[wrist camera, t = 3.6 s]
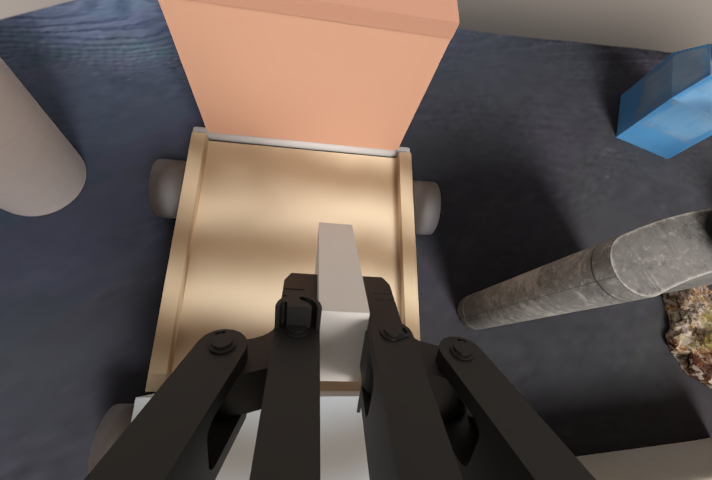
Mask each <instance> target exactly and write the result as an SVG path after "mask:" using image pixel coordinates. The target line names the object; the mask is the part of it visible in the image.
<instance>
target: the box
mask: <svg viewBox="0 0 712 480" xmlns="http://www.w3.org/2000/svg"><path fill="white" fill-rule="evenodd" d="M576 458H577V459H578V460H579V461H580V462H581V463H582V464H583V465H584V467H585V468H586V469H587V470H588V471H589V472H590V473H591V475H592V476H593V477H594V478H595V479H596V480H712V438H706V439H699V440H694V441H688V442H680V443H673V444H665V445H658V446H651V447H643V448H636V449H629V450H622V451H614V452H607V453H599V454H591V455H585V456H577V457H576Z"/></svg>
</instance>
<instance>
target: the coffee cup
mask: <svg viewBox="0 0 712 480" xmlns="http://www.w3.org/2000/svg"><path fill="white" fill-rule="evenodd" d="M85 181H86V166H85V163H84V161H83V159H82V157H81V156H80V155H79V154H78V152H77V151H76V150H75V149H74V147H73V146H72V145H71V144H70V142H69V141H68V140H67V139H66V137H65V136H64V135H63V134H62V133H61V131H60V130H59V129H58V128H57V126H56V125H55V124H54V123H53V121H52V120H51V119H50V118H49V117H48V115H47V114H46V113H45V112H44V110H43V109H42V108H41V107H40V105H39V104H38V103H37V102H36V100H35V99H34V98H33V97H32V96H31V94H30V93H29V92H28V91H27V89H26V88H25V87H24V86H23V84H22V83H21V82H20V81H19V79H18V78H17V77H16V76H15V74H14V73H13V72H12V71H11V69H10V68H9V67H8V66H7V65H6V63H5V62H4V61H3V60H2V58H1V57H0V209H3V210H5V211H8V212H10V213H13V214H16V215H21V216H41V215H46V214H50V213H53V212H55V211H58V210H60V209H62V208H63V207H65V206H67V205H68V204H69V203H71V202H72V201H73V200H74V199H75V198H76V197H77V196H78V195H79V193H80V192H81V190H82V188H83V186H84V184H85Z"/></svg>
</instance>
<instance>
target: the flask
mask: <svg viewBox="0 0 712 480" xmlns="http://www.w3.org/2000/svg"><path fill="white" fill-rule="evenodd" d="M710 284H712V208H711V209H704V210H699V211H694V212H689V213H684V214H681V215H677V216H673V217H669V218H666V219H662V220H659V221H656V222H653V223H650V224H647V225H645V226H642V227H639V228H637V229H634V230H632V231H629V232H627V233H624V234H622V235H619V236H617V237H614V238H612V239H609V240H607V241H604V242H602V243H599V244H596V245H594V246H591V247H589V248H586V249H584V250H581V251H579V252H576V253H574V254H571V255H569V256H566V257H564V258H561V259H559V260H556V261H554V262H551V263H549V264H546V265H544V266H541V267H539V268H536V269H533V270H531V271H528V272H526V273H523V274H521V275H518V276H516V277H513V278H511V279H508V280H506V281H503V282H501V283H498V284H496V285H493V286H491V287H488V288H486V289H483V290H481V291H478V292H475V293H473V294H471V295H468V296H466V297H464V298H463V299H462V300H461V301H460V302H459V304H458V308H457V313H458V317H459V319H460V321H461V323H462V324H463V325H464V326H466V327H467V328H469V329H472V330H480V329H485V328H491V327H496V326H501V325H506V324H512V323H517V322H522V321H528V320H533V319H538V318H544V317H549V316H554V315H560V314H565V313H570V312H576V311H581V310H586V309H592V308H597V307H602V306H608V305H613V304H618V303H624V302H629V301H634V300H640V299H645V298H650V297H655V296H658V295H660V294H663V293H669V292H674V291H679V290H684V289H689V288H695V287H700V286H705V285H710Z"/></svg>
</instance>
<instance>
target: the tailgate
mask: <svg viewBox="0 0 712 480" xmlns="http://www.w3.org/2000/svg"><path fill="white" fill-rule="evenodd" d="M158 1H159V3H160V6H161V9H162V11H163V14H164V17H165V19H166V22H167V25H168V27H169V30H170V33H171V35H172V38H173V41H174V43H175V46H176V49H177V51H178V54H179V57H180V60H181V62H182V65H183V68H184V70H185V73H186V76H187V78H188V81H189V84H190V86H191V89H192V92H193V94H194V97H195V100H196V102H197V105H198V108H199V110H200V113H201V116H202V118H203V121H204V124H205V127H206V128H205V127H195V126H194V128H193V132H200V133H206V135H207V137H208V140H216V141H227V142H238V143H248V144H259V145H269V146H280V147H291V148H301V149H312V150H322V151H333V152H343V153H354V154H365V155H375V156H386V157H397V155H398V153H399V152H406V153H410V149H409V148H407V147H399V146H400V144H401V141H402V139H403V137H404V135H405V133H406V131H407V129H408V127H409V125H410V123H411V121H412V119H413V117H414V114H415V112H416V110H417V108H418V106H419V104H420V102H421V100H422V98H423V96H424V94H425V92H426V90H427V87H428V85H429V83H430V81H431V79H432V77H433V75H434V73H435V71H436V69H437V67H438V65H439V63H440V60H441V58H442V56H443V54H444V52H445V50H446V48H447V46H448V44H449V42H450V40H451V39H452V37H453V35H454V33H455V31H456V29H457V27H458V25H459V23H460V22H459V14H458V5H457V0H158Z"/></svg>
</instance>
